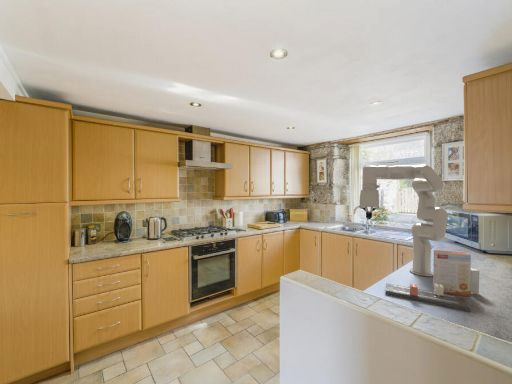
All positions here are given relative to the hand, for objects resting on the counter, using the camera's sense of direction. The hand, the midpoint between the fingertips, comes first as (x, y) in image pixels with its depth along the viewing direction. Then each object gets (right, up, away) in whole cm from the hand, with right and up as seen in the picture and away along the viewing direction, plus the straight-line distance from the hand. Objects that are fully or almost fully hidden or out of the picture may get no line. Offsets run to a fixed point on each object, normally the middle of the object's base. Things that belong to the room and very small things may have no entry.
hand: (368, 219), depth 137 cm
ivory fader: (+23, -33, -22) cm, 46 cm away
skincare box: (+46, -36, -13) cm, 60 cm away
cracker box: (+35, -36, -15) cm, 52 cm away
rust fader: (+11, -33, -23) cm, 42 cm away
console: (+16, -36, -22) cm, 45 cm away
